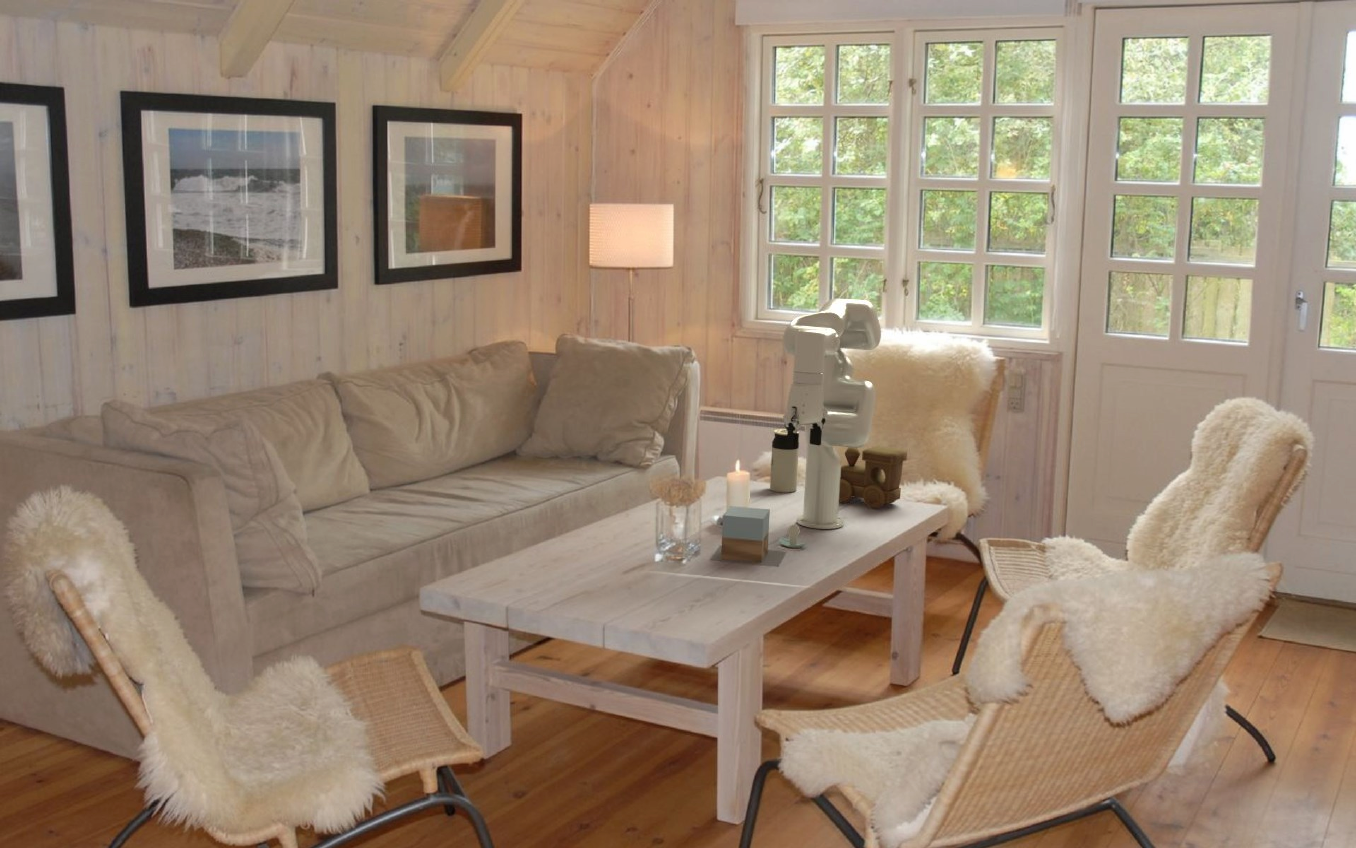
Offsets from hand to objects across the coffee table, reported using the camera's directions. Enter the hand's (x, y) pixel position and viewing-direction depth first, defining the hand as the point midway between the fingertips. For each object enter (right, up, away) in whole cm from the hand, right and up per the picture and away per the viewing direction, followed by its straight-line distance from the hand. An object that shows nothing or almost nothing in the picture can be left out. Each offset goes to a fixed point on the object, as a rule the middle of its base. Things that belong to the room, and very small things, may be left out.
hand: (803, 446), depth 353 cm
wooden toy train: (+23, -18, +56) cm, 63 cm away
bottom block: (-15, -27, -5) cm, 31 cm away
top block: (-15, -22, -6) cm, 27 cm away
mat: (-14, -28, -5) cm, 31 cm away
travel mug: (0, -14, +69) cm, 71 cm away
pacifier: (-3, -27, +4) cm, 27 cm away
